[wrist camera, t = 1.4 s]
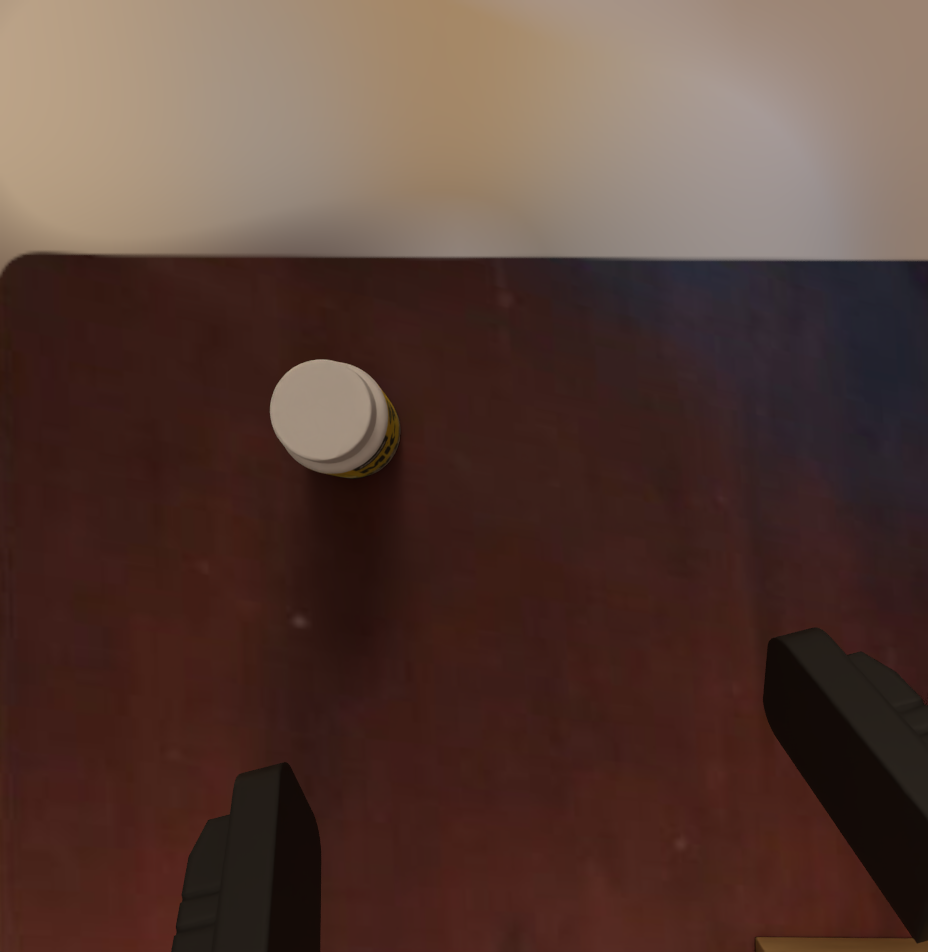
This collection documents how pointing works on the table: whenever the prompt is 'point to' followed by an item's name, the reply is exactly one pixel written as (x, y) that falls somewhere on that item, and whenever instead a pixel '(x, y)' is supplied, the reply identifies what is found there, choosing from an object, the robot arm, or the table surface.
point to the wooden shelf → (838, 944)
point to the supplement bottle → (334, 419)
